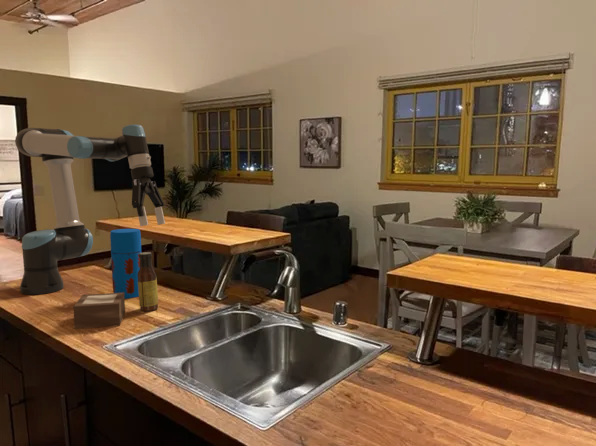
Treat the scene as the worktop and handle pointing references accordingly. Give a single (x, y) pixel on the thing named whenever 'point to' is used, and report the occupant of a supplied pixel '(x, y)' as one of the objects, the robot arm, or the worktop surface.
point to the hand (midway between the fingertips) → (153, 225)
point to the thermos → (125, 261)
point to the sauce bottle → (147, 283)
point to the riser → (99, 310)
